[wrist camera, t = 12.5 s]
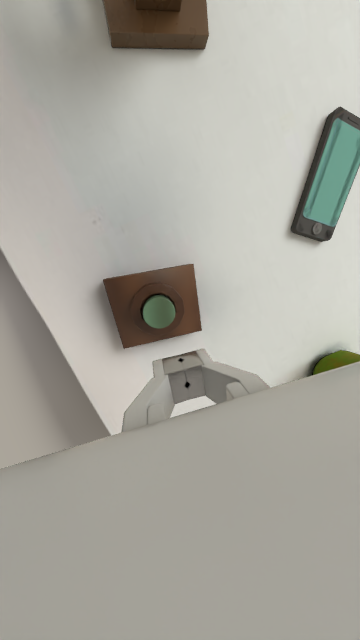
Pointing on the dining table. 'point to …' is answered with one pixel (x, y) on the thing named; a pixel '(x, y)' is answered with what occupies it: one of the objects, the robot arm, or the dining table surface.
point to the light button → (158, 311)
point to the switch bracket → (157, 23)
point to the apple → (336, 361)
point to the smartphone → (329, 177)
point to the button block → (139, 287)
